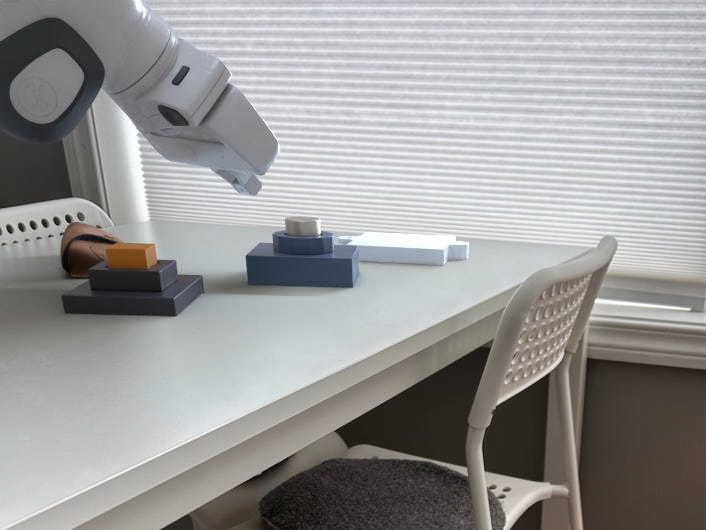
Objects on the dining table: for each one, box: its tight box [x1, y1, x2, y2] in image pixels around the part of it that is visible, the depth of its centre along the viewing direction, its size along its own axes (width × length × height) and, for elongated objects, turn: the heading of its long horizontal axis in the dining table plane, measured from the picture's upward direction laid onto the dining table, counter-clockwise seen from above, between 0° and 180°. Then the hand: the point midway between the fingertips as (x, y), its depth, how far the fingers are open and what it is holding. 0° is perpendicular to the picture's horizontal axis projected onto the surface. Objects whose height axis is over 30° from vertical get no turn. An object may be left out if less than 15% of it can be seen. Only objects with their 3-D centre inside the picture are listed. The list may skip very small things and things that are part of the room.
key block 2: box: [244, 229, 360, 289], centre depth 112 cm, size 12×10×5 cm
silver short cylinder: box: [284, 216, 321, 237], centre depth 110 cm, size 4×4×2 cm
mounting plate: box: [337, 231, 470, 266], centre depth 130 cm, size 18×13×2 cm
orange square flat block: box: [105, 242, 158, 269], centre depth 89 cm, size 4×4×2 cm
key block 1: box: [61, 259, 205, 317], centre depth 91 cm, size 10×12×5 cm
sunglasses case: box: [60, 221, 125, 279], centre depth 115 cm, size 18×7×7 cm
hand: (252, 189), depth 104 cm, fingers closed
